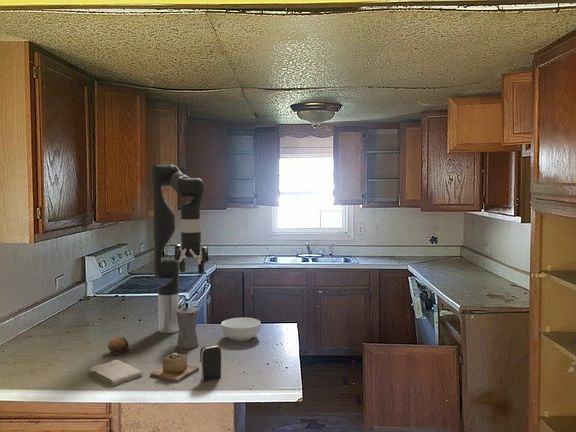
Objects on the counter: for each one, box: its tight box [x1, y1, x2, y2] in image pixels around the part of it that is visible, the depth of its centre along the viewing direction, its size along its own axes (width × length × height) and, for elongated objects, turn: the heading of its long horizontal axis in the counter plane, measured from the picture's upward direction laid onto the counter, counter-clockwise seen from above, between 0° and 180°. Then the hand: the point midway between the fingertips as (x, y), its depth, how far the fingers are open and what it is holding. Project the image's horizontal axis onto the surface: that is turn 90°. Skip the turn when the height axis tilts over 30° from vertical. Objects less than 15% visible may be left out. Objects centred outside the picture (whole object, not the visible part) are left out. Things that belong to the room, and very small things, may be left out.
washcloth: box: [88, 359, 143, 386], centre depth 179 cm, size 12×18×3 cm, turn 50°
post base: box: [150, 352, 200, 383], centre depth 180 cm, size 12×12×7 cm
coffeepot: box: [176, 302, 199, 350], centre depth 210 cm, size 15×9×18 cm, turn 33°
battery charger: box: [199, 344, 222, 382], centre depth 176 cm, size 7×4×11 cm, turn 121°
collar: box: [162, 353, 188, 375], centre depth 180 cm, size 6×6×5 cm
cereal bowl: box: [220, 317, 261, 342], centre depth 218 cm, size 17×17×7 cm
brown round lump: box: [107, 336, 129, 355], centre depth 202 cm, size 8×8×6 cm
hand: (191, 272), depth 194 cm, fingers open, 8 cm apart
